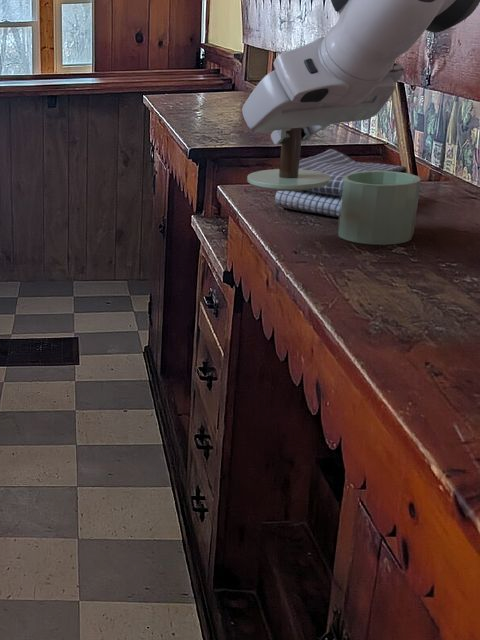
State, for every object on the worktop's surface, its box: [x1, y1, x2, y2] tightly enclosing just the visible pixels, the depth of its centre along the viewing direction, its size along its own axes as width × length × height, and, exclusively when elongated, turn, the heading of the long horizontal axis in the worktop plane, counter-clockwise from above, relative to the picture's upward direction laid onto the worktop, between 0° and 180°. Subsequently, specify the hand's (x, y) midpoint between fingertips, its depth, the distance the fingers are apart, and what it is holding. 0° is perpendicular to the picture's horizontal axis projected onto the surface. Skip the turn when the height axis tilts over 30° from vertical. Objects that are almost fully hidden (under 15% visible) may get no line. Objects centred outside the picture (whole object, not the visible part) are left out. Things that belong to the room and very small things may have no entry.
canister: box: [337, 171, 422, 246], centre depth 126 cm, size 10×10×8 cm
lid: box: [246, 127, 331, 191], centre depth 120 cm, size 11×11×9 cm
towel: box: [273, 148, 408, 218], centre depth 143 cm, size 15×18×8 cm
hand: (288, 138), depth 120 cm, fingers closed on lid, 2 cm apart
